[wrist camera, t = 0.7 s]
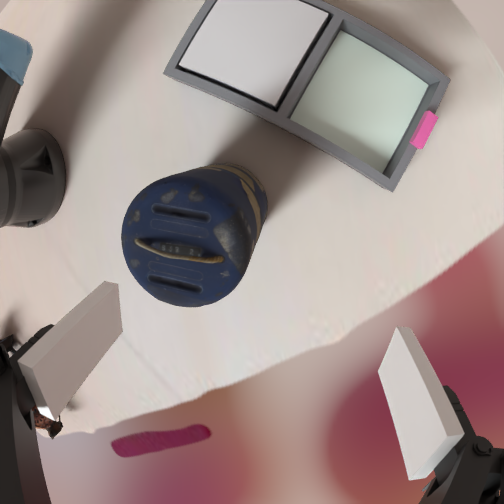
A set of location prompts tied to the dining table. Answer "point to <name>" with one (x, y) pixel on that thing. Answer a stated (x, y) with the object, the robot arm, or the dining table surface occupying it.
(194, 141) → the dining table surface
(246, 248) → the canister
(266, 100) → the grey divided tray
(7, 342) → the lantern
